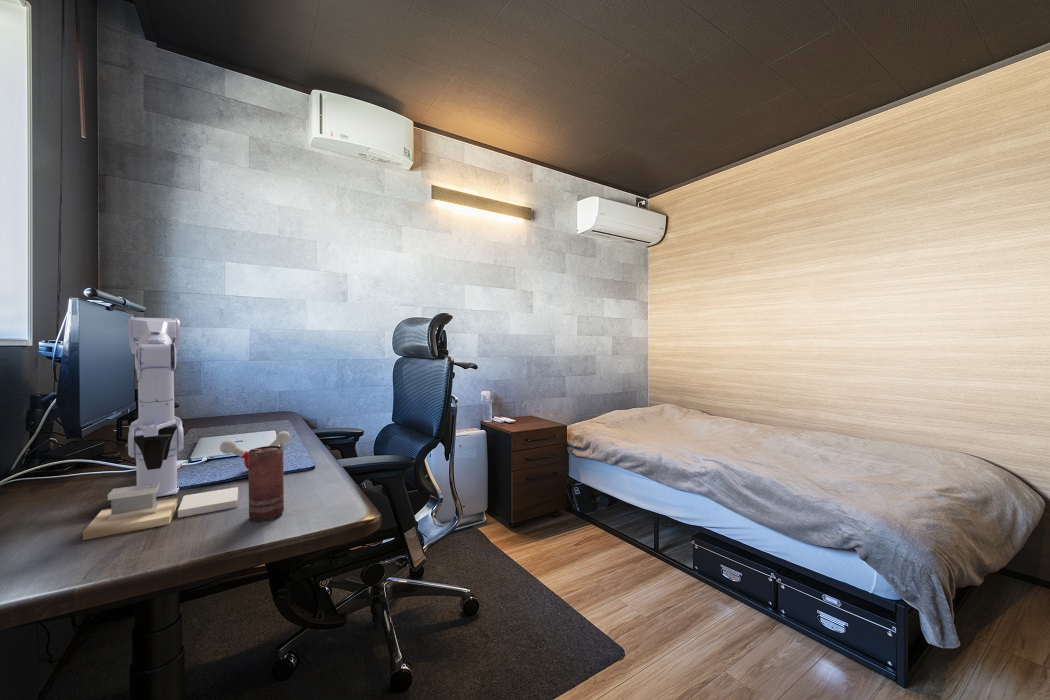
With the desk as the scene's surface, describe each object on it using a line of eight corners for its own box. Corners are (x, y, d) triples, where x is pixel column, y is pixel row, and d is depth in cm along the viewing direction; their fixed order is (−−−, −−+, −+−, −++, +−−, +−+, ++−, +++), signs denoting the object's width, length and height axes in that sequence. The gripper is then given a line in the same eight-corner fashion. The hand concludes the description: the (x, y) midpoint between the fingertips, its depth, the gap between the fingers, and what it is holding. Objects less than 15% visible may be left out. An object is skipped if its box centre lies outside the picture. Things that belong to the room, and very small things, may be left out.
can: (250, 513, 88) (250, 446, 87) (285, 508, 90) (284, 443, 90) (244, 524, 82) (243, 453, 82) (281, 519, 85) (280, 450, 84)
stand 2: (184, 502, 94) (183, 495, 94) (238, 493, 99) (238, 487, 99) (177, 517, 85) (177, 510, 85) (237, 507, 91) (237, 500, 91)
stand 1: (102, 517, 86) (101, 509, 86) (177, 504, 92) (177, 497, 92) (82, 540, 76) (82, 531, 76) (169, 524, 82) (169, 516, 82)
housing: (159, 506, 87) (159, 482, 87) (156, 512, 84) (155, 487, 84) (113, 513, 84) (113, 488, 84) (107, 520, 80) (107, 495, 80)
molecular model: (224, 480, 108) (223, 442, 108) (215, 476, 112) (215, 439, 111) (293, 464, 123) (293, 430, 123) (284, 461, 126) (284, 428, 126)
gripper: (138, 398, 92) (139, 459, 93) (122, 406, 80) (123, 476, 80) (179, 396, 96) (180, 454, 96) (170, 403, 84) (171, 470, 84)
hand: (157, 464), depth 89 cm, fingers open, 7 cm apart
